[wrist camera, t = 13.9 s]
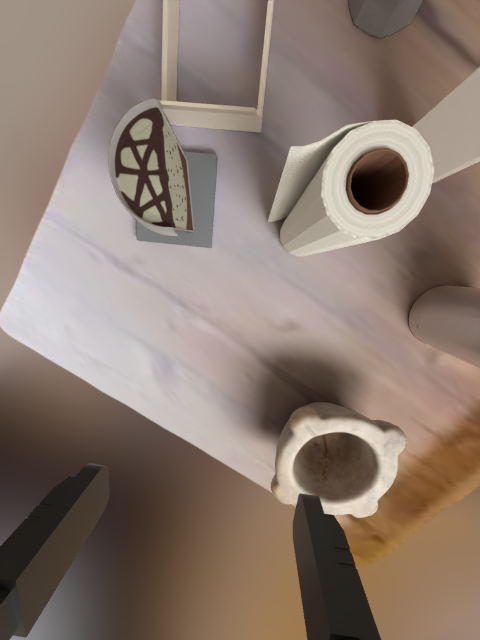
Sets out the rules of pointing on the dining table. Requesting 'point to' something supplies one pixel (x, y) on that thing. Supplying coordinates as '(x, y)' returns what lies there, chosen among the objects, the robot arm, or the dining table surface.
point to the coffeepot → (383, 15)
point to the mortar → (336, 458)
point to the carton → (200, 112)
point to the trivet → (193, 204)
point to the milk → (454, 129)
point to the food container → (151, 170)
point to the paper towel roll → (352, 187)
